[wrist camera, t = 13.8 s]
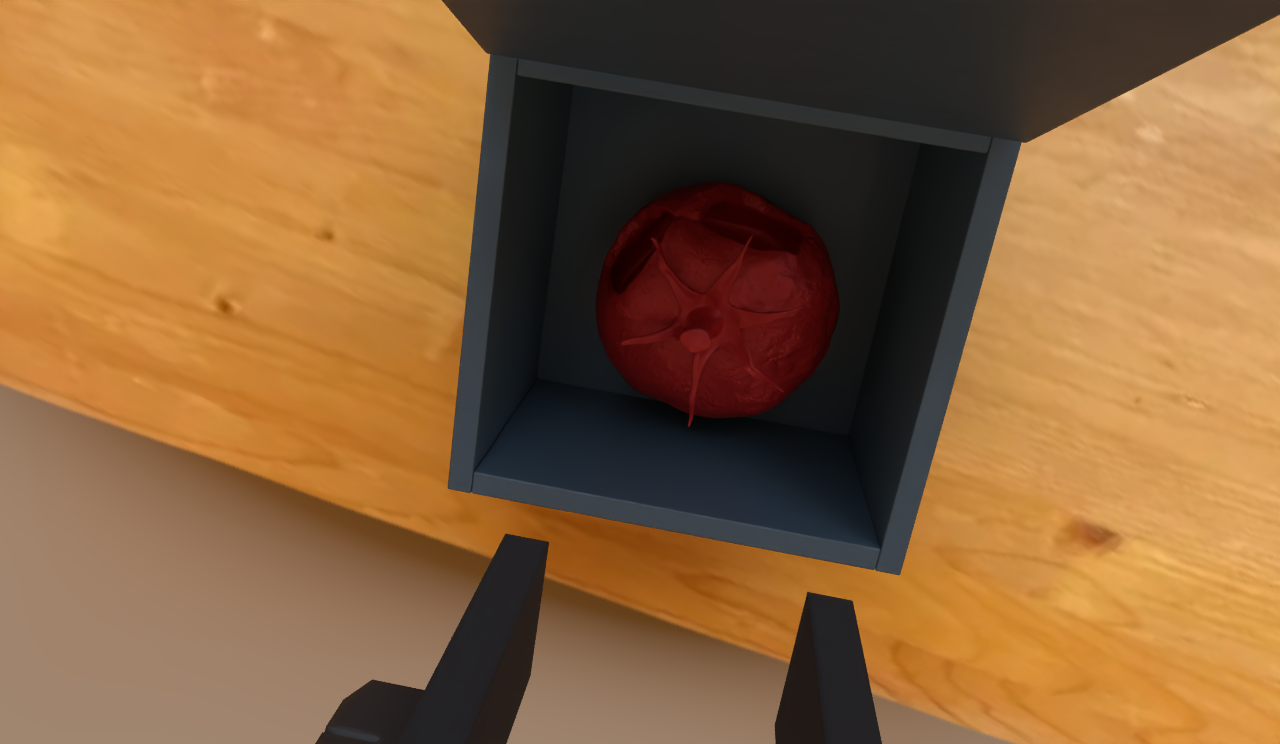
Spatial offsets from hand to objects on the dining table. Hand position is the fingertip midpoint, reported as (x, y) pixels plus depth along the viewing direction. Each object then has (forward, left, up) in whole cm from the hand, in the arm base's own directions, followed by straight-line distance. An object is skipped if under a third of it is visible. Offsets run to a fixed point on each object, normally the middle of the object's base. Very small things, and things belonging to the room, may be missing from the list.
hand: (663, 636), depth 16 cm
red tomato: (0, 0, -28) cm, 28 cm away
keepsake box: (0, +1, -29) cm, 29 cm away
